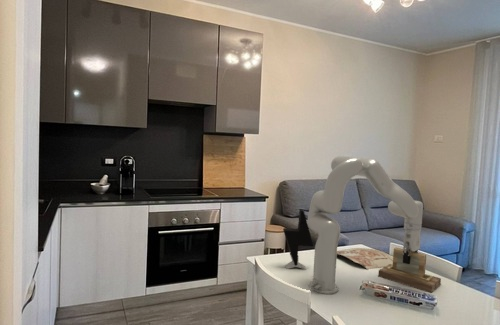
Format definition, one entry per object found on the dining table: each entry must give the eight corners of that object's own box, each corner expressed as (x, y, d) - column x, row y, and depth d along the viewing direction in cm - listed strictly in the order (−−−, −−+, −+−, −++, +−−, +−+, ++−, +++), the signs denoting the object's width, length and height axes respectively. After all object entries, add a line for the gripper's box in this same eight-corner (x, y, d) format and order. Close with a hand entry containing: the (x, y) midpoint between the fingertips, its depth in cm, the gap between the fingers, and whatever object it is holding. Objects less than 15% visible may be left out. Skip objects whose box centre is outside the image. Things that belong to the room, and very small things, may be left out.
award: (309, 266, 174) (313, 209, 173) (312, 269, 169) (315, 211, 167) (281, 265, 174) (284, 208, 172) (282, 268, 168) (285, 210, 167)
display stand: (431, 292, 148) (431, 284, 148) (378, 276, 165) (378, 268, 164) (440, 284, 158) (441, 276, 158) (389, 269, 174) (390, 262, 174)
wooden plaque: (422, 279, 155) (424, 256, 155) (392, 270, 165) (393, 248, 164) (424, 277, 158) (426, 254, 157) (394, 268, 167) (396, 247, 167)
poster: (359, 277, 171) (404, 270, 182) (360, 265, 170) (405, 259, 181) (328, 255, 197) (368, 250, 208) (328, 245, 196) (369, 240, 207)
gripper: (414, 230, 151) (411, 267, 152) (426, 225, 163) (424, 259, 164) (397, 227, 156) (395, 262, 157) (410, 222, 169) (408, 255, 169)
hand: (410, 261), depth 161 cm, fingers open, 9 cm apart
